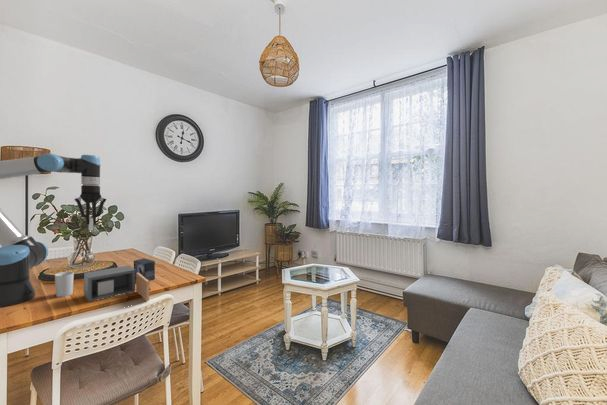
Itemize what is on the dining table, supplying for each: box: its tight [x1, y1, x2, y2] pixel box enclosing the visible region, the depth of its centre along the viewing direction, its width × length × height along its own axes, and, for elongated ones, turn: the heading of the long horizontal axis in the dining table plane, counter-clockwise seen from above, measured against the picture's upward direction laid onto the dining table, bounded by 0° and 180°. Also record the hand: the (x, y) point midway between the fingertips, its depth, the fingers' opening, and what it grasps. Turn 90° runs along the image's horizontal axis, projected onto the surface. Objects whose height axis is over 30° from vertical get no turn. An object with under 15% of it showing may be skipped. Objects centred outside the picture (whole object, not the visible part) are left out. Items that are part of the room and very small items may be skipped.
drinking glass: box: [54, 270, 75, 298], centre depth 121 cm, size 7×7×10 cm
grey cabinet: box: [83, 265, 136, 303], centre depth 124 cm, size 18×10×11 cm, turn 138°
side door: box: [135, 273, 152, 302], centre depth 123 cm, size 16×2×9 cm, turn 47°
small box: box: [133, 257, 156, 282], centre depth 145 cm, size 11×6×10 cm, turn 62°
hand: (90, 230), depth 135 cm, fingers closed
